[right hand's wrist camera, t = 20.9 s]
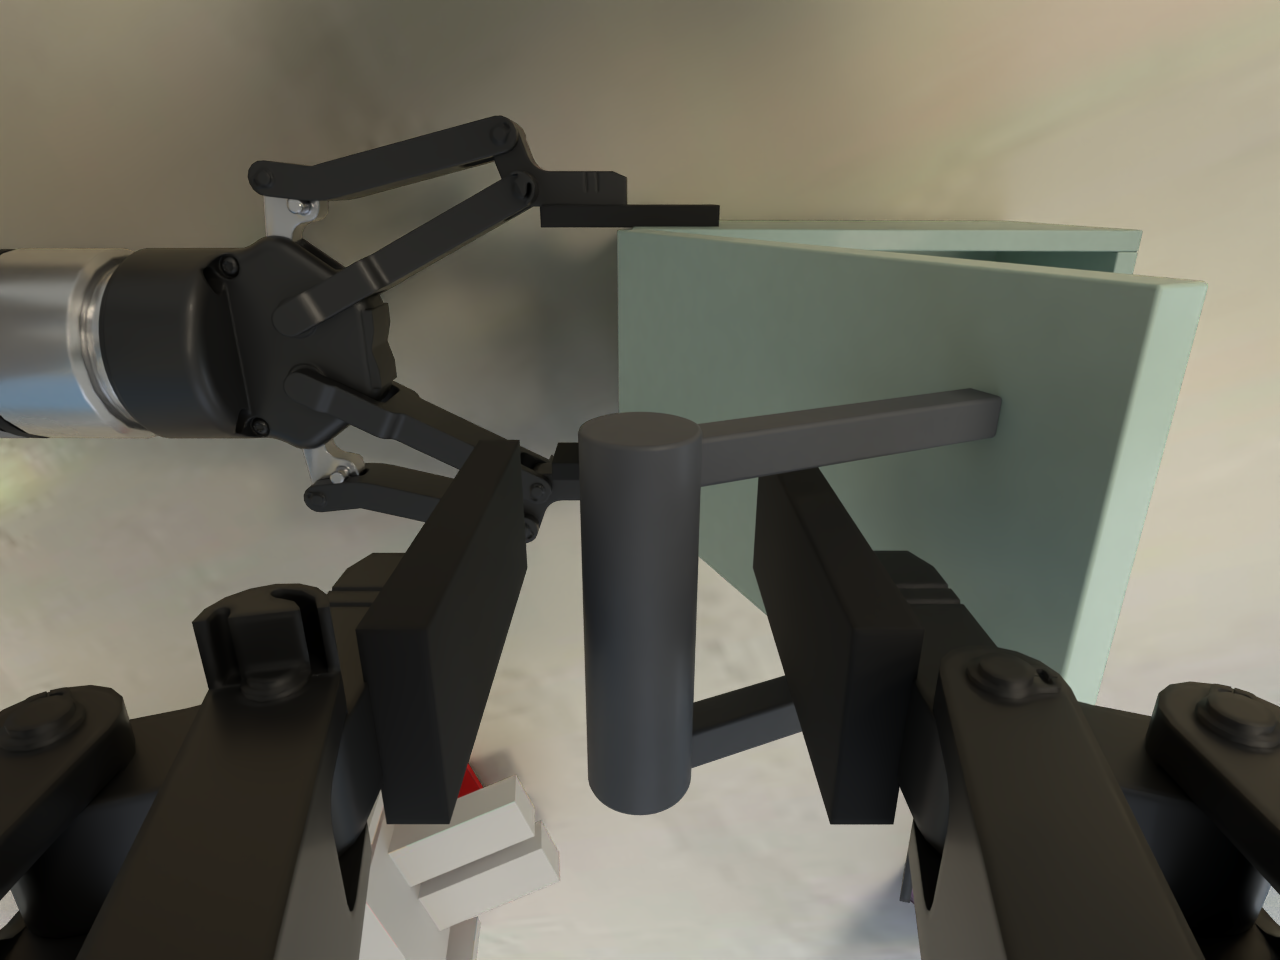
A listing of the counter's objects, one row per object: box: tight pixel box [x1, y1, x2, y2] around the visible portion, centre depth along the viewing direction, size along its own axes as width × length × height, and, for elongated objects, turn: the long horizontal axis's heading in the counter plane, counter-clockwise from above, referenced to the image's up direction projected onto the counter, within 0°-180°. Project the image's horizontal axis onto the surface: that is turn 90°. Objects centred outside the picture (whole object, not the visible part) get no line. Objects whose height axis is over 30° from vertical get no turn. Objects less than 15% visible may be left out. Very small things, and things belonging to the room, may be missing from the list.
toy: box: [359, 764, 560, 960], centre depth 43 cm, size 12×13×30 cm
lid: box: [578, 229, 1208, 815], centre depth 17 cm, size 18×9×8 cm
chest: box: [632, 220, 1142, 274], centre depth 31 cm, size 17×9×10 cm, turn 90°
